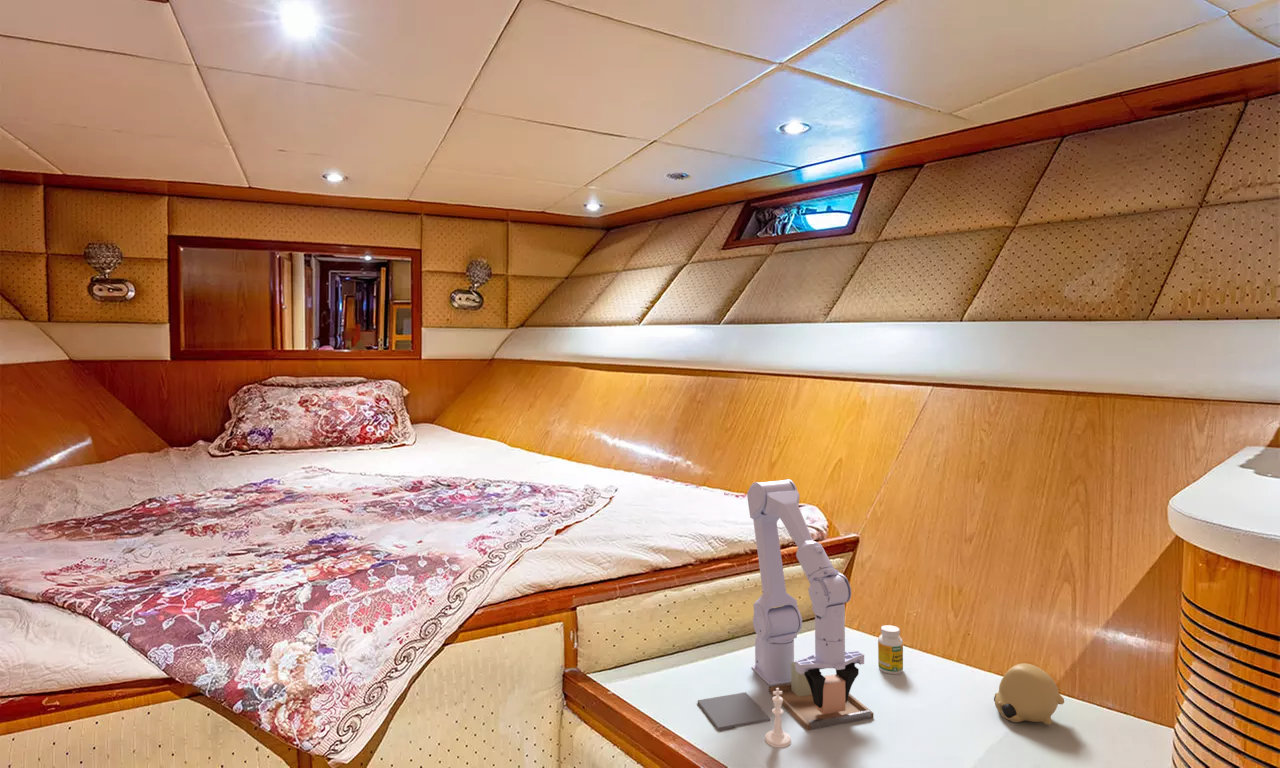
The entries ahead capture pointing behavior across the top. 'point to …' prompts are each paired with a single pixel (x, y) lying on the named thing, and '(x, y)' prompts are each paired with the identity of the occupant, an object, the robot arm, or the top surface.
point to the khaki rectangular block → (799, 683)
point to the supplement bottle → (890, 650)
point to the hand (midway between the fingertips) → (830, 702)
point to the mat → (732, 711)
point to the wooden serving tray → (813, 717)
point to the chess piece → (777, 725)
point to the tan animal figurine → (1027, 695)
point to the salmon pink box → (833, 695)
